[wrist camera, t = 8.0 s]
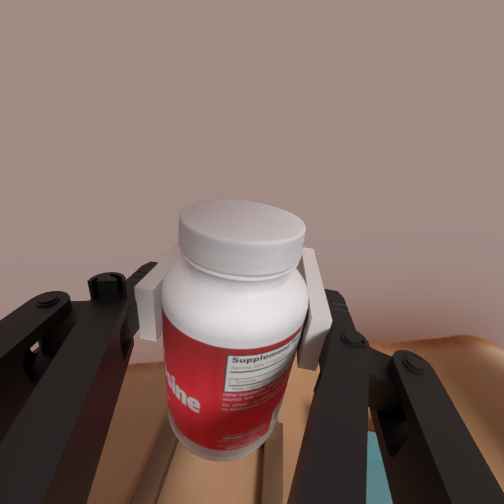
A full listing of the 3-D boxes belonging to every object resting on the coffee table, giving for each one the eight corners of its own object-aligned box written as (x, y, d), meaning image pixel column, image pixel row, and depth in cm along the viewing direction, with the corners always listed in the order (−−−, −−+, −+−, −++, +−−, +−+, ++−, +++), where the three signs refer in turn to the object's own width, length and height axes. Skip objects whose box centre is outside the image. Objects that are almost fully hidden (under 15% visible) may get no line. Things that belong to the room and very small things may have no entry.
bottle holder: (280, 431, 23) (282, 423, 23) (278, 634, 14) (282, 630, 13) (173, 409, 24) (172, 402, 23) (99, 590, 14) (96, 584, 14)
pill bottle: (164, 368, 15) (153, 192, 10) (254, 348, 18) (279, 195, 13) (173, 492, 10) (160, 260, 5) (298, 441, 12) (368, 246, 8)
